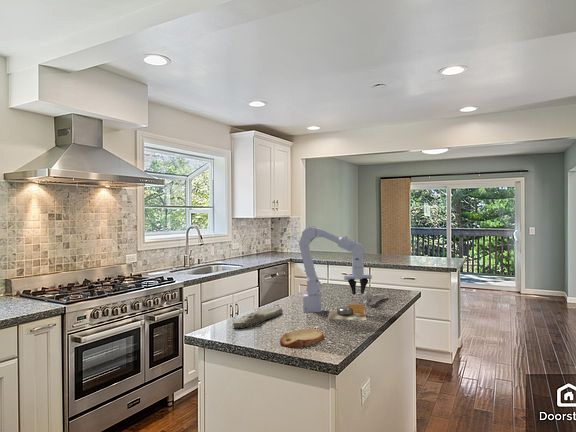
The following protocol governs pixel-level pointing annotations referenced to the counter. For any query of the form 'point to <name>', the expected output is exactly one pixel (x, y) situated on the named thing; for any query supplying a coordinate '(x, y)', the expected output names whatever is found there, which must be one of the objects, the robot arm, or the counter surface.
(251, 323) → the elongated rock
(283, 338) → the bread slice
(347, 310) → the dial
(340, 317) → the panel
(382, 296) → the wrench
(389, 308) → the counter surface
